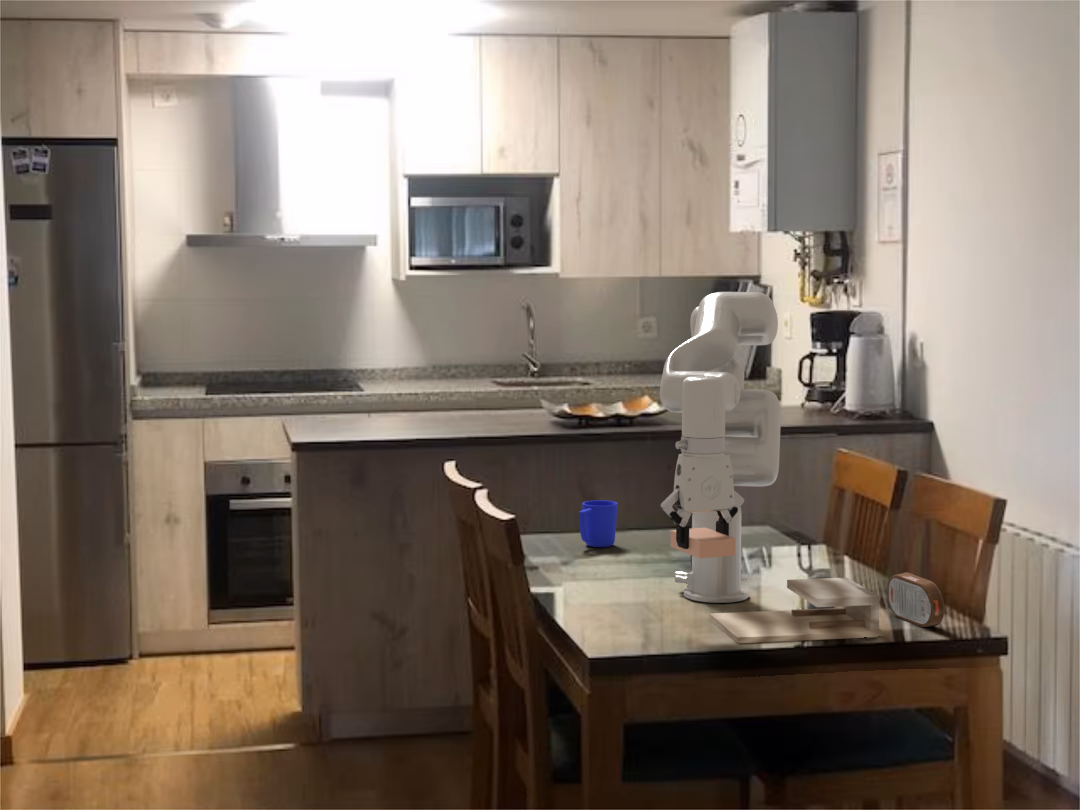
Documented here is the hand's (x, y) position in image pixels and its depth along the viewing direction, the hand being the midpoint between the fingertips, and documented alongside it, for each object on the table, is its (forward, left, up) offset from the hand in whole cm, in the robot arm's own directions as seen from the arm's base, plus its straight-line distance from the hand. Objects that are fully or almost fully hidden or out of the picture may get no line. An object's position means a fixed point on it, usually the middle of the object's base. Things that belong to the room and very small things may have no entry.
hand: (702, 545), depth 267 cm
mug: (-56, +59, -16) cm, 83 cm away
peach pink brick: (0, 0, -1) cm, 1 cm away
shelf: (+13, +11, -16) cm, 23 cm away
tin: (+30, +26, -16) cm, 43 cm away
